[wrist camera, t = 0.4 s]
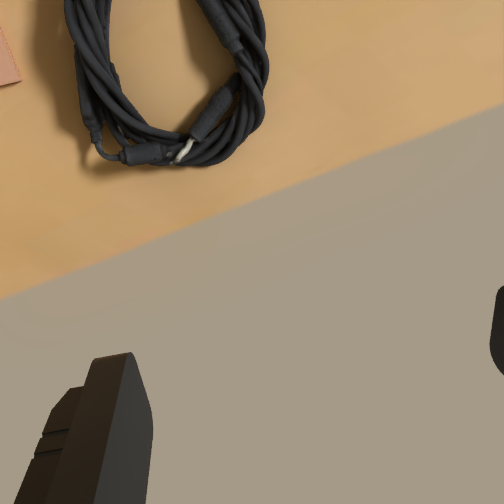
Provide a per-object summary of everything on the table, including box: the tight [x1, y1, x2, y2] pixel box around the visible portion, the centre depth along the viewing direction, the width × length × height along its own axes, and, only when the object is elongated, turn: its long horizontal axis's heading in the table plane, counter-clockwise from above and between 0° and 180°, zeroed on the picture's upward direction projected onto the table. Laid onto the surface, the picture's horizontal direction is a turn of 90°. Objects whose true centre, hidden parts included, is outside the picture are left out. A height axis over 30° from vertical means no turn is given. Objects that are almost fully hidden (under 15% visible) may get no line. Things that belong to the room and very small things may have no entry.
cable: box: [64, 0, 269, 166], centre depth 30 cm, size 17×14×4 cm
